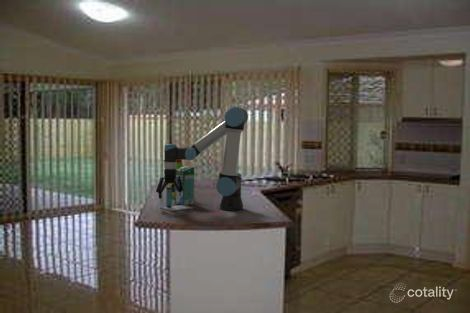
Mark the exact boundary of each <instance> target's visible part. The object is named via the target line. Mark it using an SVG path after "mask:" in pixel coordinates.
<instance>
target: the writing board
mask: <svg viewBox="0 0 470 313" xmlns="http://www.w3.org/2000/svg"><path fill="white" fill-rule="evenodd" d="M194 208H195V207H193V206H190V205H179V204H178V205H172V206H171V208H167V206H162V207H159V209H161V210H163V209H164V210H163V211H167V210H168V212H171V211H173V212H179V210H181V211H187V210H186V209H190V210H195V209H194Z"/></svg>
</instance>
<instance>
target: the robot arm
mask: <svg viewBox="0 0 470 313" xmlns="http://www.w3.org/2000/svg"><path fill="white" fill-rule="evenodd" d="M248 114H249V113H248V112H247V110H245V108H242V107H239V106H231V107H230V108H228V109H227V110H226V111H225V113H224V116H223V117H224V121H222V122H221V123H220V124H218V125H217V126H215V128H213V129H212V130H211V131H209V132H207V134H205V135H203V136H202V137H201V138H199V139H198V140H197V141H196V142H194V143H193V144H191V145H190V146H187V147H178V145H177V144H175V143H166V144H165V145H164V151H163V152H164V159H163V160H164V161H163V162H164V164H163V165H164V167H163V168H164V169H163V176H160V177H159V182H158V183H157V187H156V189H155V192H156V193H158V199H159V204H160V205H163V204H164V193H163V192H164V190H165V188H166V187H167V185H169V184H170V183H173V184H174V186H175V188H176V189H177V192H176V202H180V196H181V192H182V191H183V190H184V189H183V186H182V183H181V180H180V176H176V169H175V168H176V159H181V160H182V161H185V160H186V161H194V160H195V158H198V157H199V155H200V154H202V153H203V152H204V151H205V150H208V148H210V147H211V146H212V145H214V144H215V143H217V142H218V141H219V140H221V139H222V138H223V137H225V145H224V150H223V151H224V153H223V160H222V169H221V171H220V172H219V174H218V179H217V181H216V185H215V186H216V187H215V188H216V191H217V192H218V193H219V194H220V195H221V196H222V197H221V201H220V203H219V209H221V210H224V211H241V210H244V204H243V200H242V174H241V173H240V172H239V173H238V172H237V168H238V159H239V158H238V157H239V151H240V150H239V149H240V142H241V136H242V135H241V134H242V132H243V131H245V125H246V123H247V121H248V118H249V115H248ZM175 179H177V182H176V181H175ZM177 183H178V185H177Z"/></svg>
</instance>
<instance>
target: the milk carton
mask: <svg viewBox="0 0 470 313" xmlns="http://www.w3.org/2000/svg"><path fill="white" fill-rule="evenodd" d="M176 176H180V180H181V183H182V186H183V189H184V190H183V191H182V192H181V196H180V202H176V192H177V189H176V188H175V199H174V204H176V205H178V206H179V205H185V206H189V205H188V204H191V205H194V204H195V166H188V165H183V167H180V168H179V169H177V170H176ZM175 181H176V182H177V179H175ZM177 185H178V183H177Z"/></svg>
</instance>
